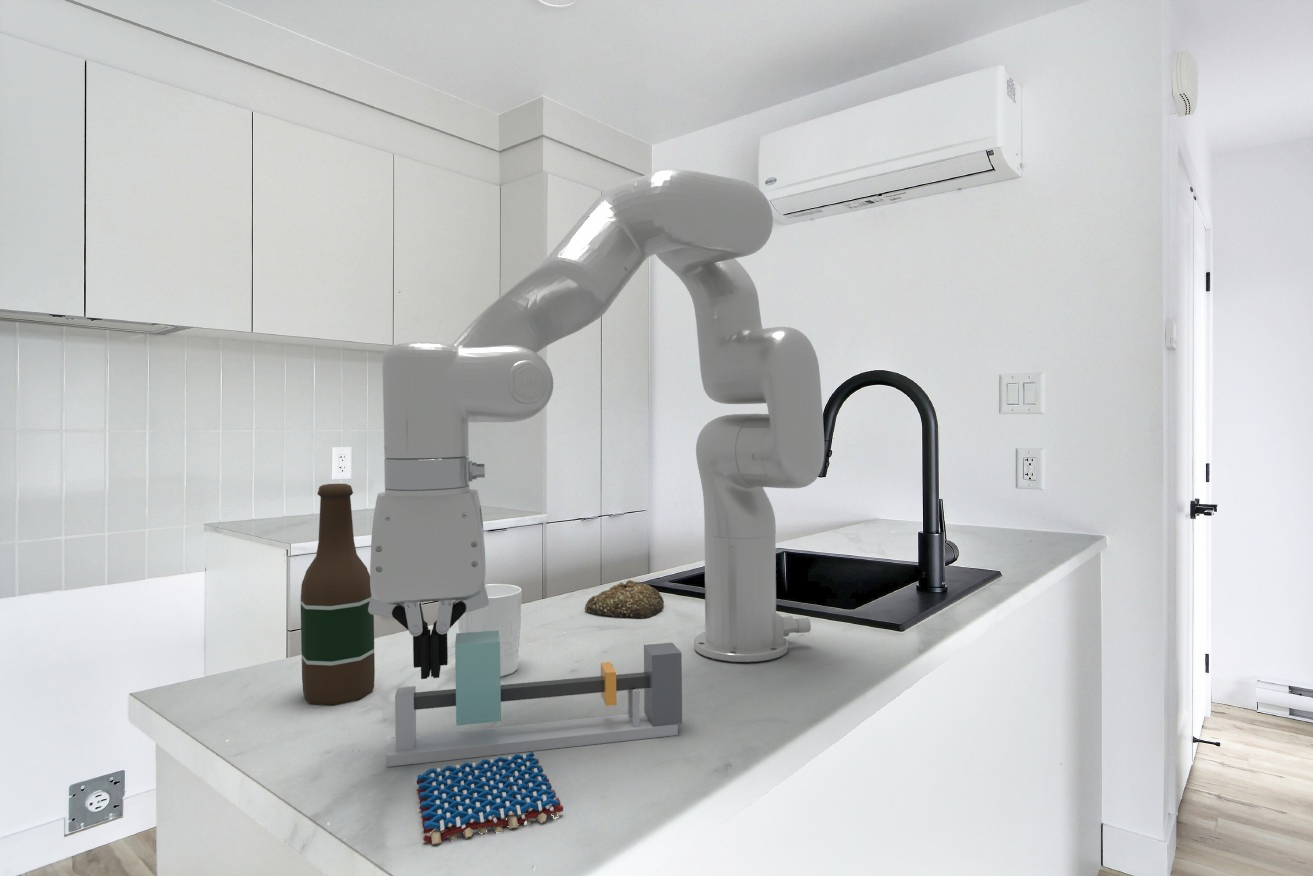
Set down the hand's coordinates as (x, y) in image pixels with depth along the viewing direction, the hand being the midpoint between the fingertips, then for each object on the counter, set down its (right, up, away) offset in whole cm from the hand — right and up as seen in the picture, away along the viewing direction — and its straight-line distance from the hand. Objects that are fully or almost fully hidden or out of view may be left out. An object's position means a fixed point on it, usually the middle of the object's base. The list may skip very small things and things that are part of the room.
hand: (431, 673), depth 70 cm
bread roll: (+16, -7, +55) cm, 57 cm away
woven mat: (+7, -8, -9) cm, 14 cm away
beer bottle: (-15, -8, +16) cm, 23 cm away
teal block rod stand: (+10, -7, +2) cm, 12 cm away
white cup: (0, -7, +24) cm, 25 cm away
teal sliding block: (+4, -4, +1) cm, 6 cm away
